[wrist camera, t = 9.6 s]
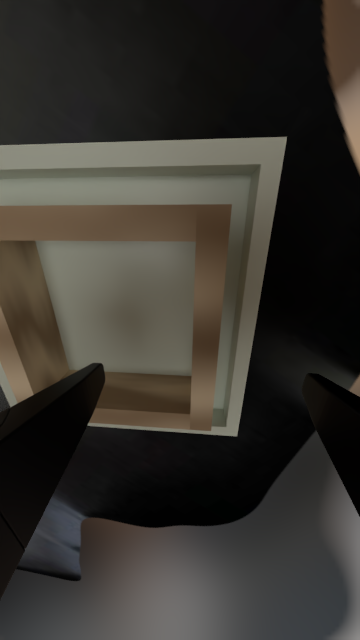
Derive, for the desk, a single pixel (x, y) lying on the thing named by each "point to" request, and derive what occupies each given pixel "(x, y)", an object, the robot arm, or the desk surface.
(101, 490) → the desk surface
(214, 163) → the tray
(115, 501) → the desk surface
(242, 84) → the desk surface
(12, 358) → the frame ring
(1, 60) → the desk surface
